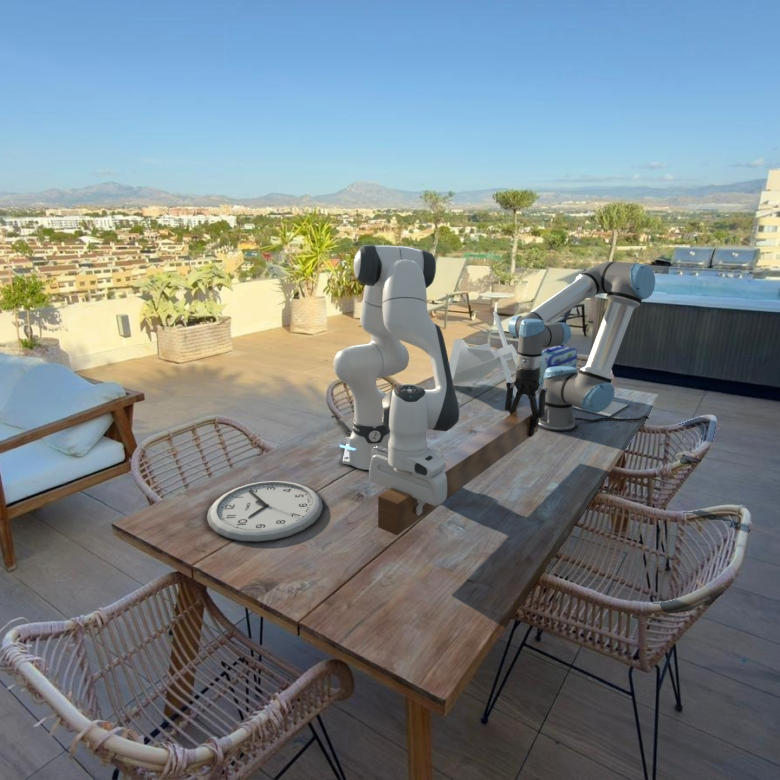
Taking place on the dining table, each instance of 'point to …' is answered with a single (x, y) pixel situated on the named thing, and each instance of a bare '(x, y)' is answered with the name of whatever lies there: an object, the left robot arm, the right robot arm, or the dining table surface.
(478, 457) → the post
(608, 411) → the invitation card
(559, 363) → the lunch box
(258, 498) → the wall clock
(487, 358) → the white plastic object
